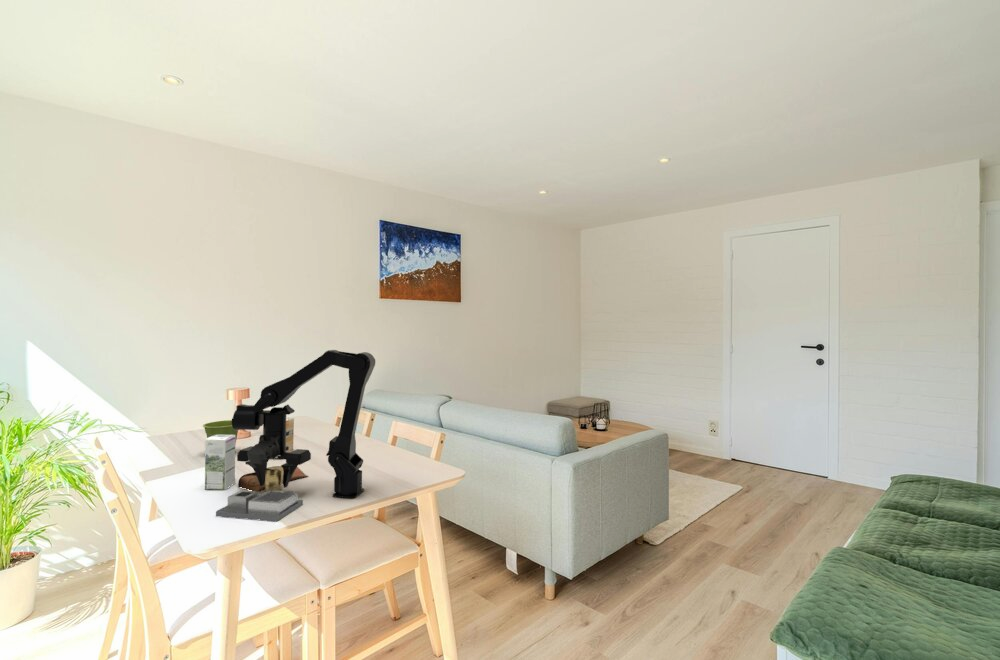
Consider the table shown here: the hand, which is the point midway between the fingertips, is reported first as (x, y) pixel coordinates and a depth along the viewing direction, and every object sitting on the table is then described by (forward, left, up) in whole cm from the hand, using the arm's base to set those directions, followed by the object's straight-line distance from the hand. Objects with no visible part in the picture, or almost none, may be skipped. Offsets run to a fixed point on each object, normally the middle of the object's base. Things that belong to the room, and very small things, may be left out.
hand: (273, 486), depth 129 cm
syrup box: (+18, -2, -2) cm, 18 cm away
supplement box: (+20, -34, -2) cm, 40 cm away
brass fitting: (0, 0, -2) cm, 2 cm away
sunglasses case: (+6, -9, -3) cm, 11 cm away
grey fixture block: (-4, +11, -2) cm, 12 cm away
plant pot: (+41, -31, -2) cm, 51 cm away
